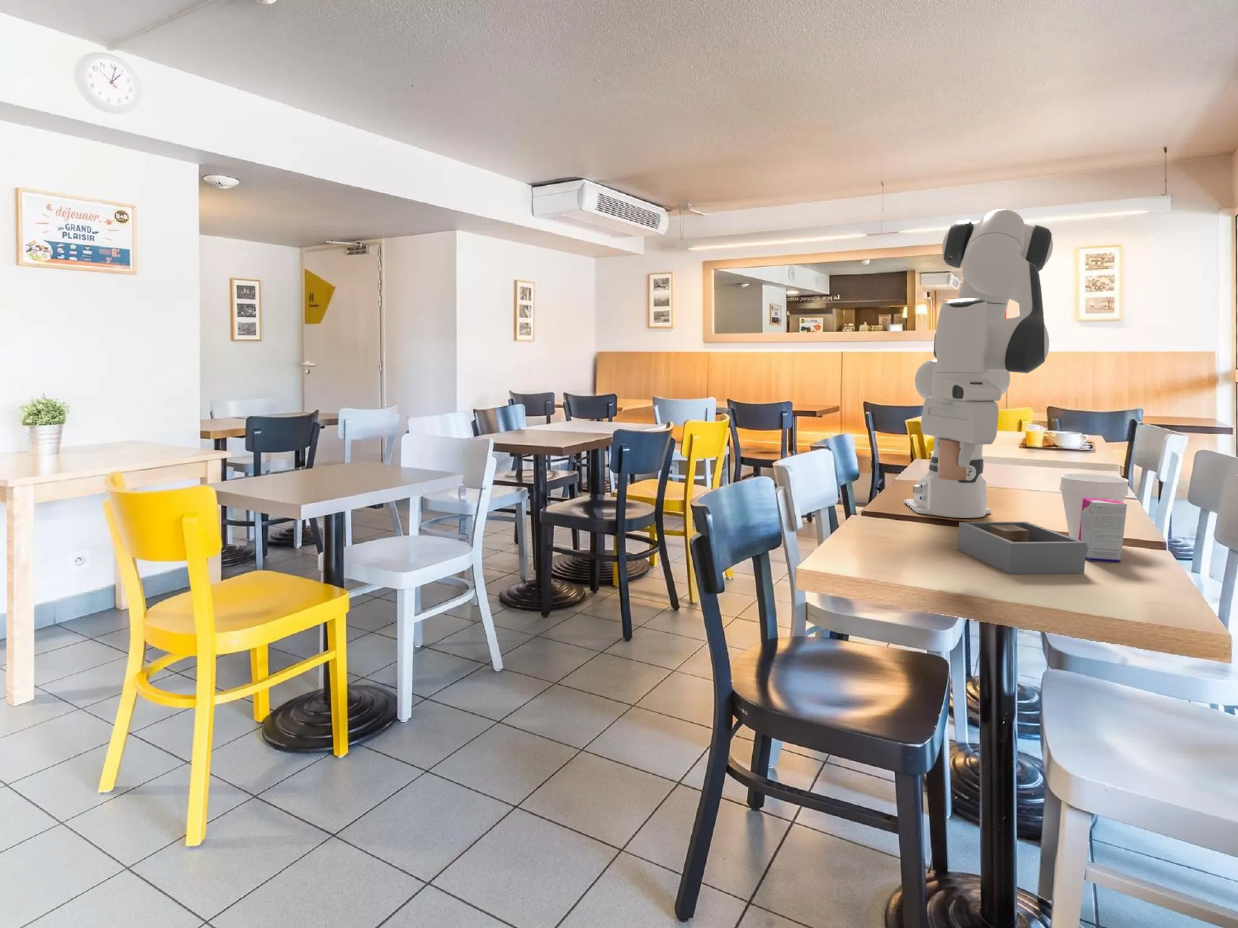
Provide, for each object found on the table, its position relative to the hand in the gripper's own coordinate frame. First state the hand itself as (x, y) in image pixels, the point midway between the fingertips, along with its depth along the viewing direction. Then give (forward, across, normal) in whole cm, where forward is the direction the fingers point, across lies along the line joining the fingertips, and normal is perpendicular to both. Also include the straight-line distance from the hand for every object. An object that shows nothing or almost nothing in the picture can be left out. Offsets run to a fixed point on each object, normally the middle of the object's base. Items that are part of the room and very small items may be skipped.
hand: (953, 464), depth 136 cm
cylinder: (+3, 0, 0) cm, 3 cm away
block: (+18, -5, +15) cm, 24 cm away
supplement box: (+19, -2, +32) cm, 37 cm away
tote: (+19, -2, +15) cm, 24 cm away
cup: (+19, -16, +40) cm, 47 cm away
